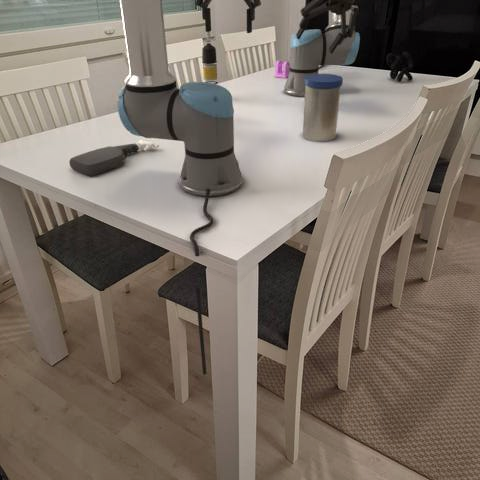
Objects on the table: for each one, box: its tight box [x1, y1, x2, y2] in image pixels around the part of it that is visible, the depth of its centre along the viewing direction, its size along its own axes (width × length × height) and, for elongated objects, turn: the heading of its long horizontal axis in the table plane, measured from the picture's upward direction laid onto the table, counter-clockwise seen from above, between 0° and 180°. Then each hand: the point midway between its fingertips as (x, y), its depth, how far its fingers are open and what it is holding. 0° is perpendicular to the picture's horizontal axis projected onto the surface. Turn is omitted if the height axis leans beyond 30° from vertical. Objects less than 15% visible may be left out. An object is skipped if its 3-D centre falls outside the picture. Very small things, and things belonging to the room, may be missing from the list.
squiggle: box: [385, 51, 414, 83], centre depth 198 cm, size 11×10×15 cm
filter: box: [201, 31, 219, 85], centre depth 171 cm, size 6×6×30 cm
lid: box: [304, 73, 344, 89], centre depth 130 cm, size 11×11×2 cm
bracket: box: [274, 59, 290, 79], centre depth 212 cm, size 13×6×7 cm, turn 143°
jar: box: [302, 85, 342, 142], centre depth 135 cm, size 10×10×17 cm
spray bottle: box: [68, 139, 160, 177], centre depth 124 cm, size 3×11×24 cm
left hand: (228, 32), depth 139 cm, fingers open, 13 cm apart
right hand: (314, 44), depth 155 cm, fingers open, 13 cm apart
